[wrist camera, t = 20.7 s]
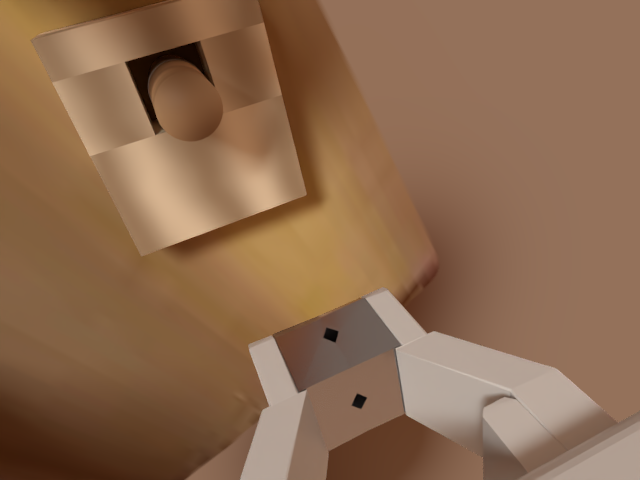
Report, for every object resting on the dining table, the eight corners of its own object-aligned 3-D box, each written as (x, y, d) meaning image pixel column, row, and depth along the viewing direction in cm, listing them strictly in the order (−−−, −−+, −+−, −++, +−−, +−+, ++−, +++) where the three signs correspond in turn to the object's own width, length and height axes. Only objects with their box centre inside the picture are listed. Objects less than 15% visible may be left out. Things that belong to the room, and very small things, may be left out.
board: (139, 233, 40) (141, 256, 36) (39, 33, 31) (30, 40, 28) (292, 178, 42) (307, 194, 39) (240, -19, 34) (253, -19, 30)
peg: (156, 111, 36) (169, 151, 28) (135, 59, 34) (142, 85, 25) (205, 96, 37) (232, 130, 28) (188, 44, 34) (211, 64, 26)
